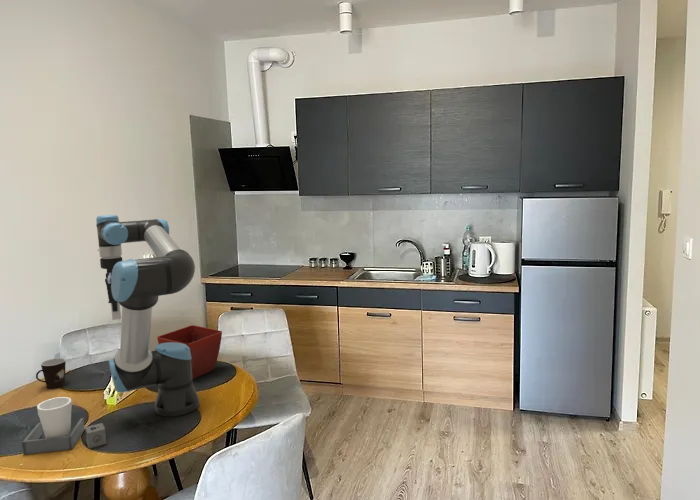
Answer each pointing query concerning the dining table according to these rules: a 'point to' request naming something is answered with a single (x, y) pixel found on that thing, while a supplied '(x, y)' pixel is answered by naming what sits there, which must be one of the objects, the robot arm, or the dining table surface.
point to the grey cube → (95, 435)
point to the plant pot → (197, 346)
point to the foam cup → (55, 416)
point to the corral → (51, 440)
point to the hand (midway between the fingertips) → (116, 319)
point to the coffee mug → (53, 373)
